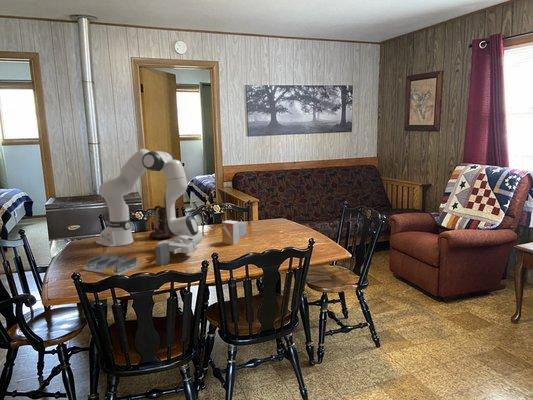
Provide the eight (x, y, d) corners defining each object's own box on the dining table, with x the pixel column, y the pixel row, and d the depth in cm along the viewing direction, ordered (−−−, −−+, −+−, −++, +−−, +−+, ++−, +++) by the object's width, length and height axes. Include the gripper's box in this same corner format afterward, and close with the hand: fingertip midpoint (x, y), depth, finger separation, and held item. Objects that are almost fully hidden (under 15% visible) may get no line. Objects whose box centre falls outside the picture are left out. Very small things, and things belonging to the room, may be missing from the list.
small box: (222, 243, 237) (221, 222, 234) (228, 240, 242) (227, 219, 240) (233, 245, 233) (232, 223, 230) (239, 242, 238) (239, 221, 236)
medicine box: (241, 234, 257) (241, 221, 256) (246, 235, 254) (246, 222, 253) (233, 236, 251) (232, 223, 250) (238, 237, 248) (238, 224, 247)
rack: (81, 270, 193) (81, 261, 192) (107, 259, 208) (107, 251, 207) (116, 276, 184) (116, 267, 184) (141, 265, 199) (140, 256, 199)
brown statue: (145, 236, 253) (143, 206, 249) (167, 233, 261) (166, 203, 258) (154, 241, 241) (152, 209, 238) (177, 237, 250) (175, 206, 246)
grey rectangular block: (156, 265, 199) (155, 246, 197) (165, 261, 205) (164, 242, 203) (161, 266, 198) (160, 247, 196) (169, 262, 204) (168, 243, 202)
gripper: (165, 236, 219) (149, 242, 206) (197, 240, 211) (182, 247, 198) (166, 247, 220) (149, 254, 207) (197, 251, 212) (182, 259, 199)
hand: (165, 250), depth 203 cm, fingers open, 8 cm apart
